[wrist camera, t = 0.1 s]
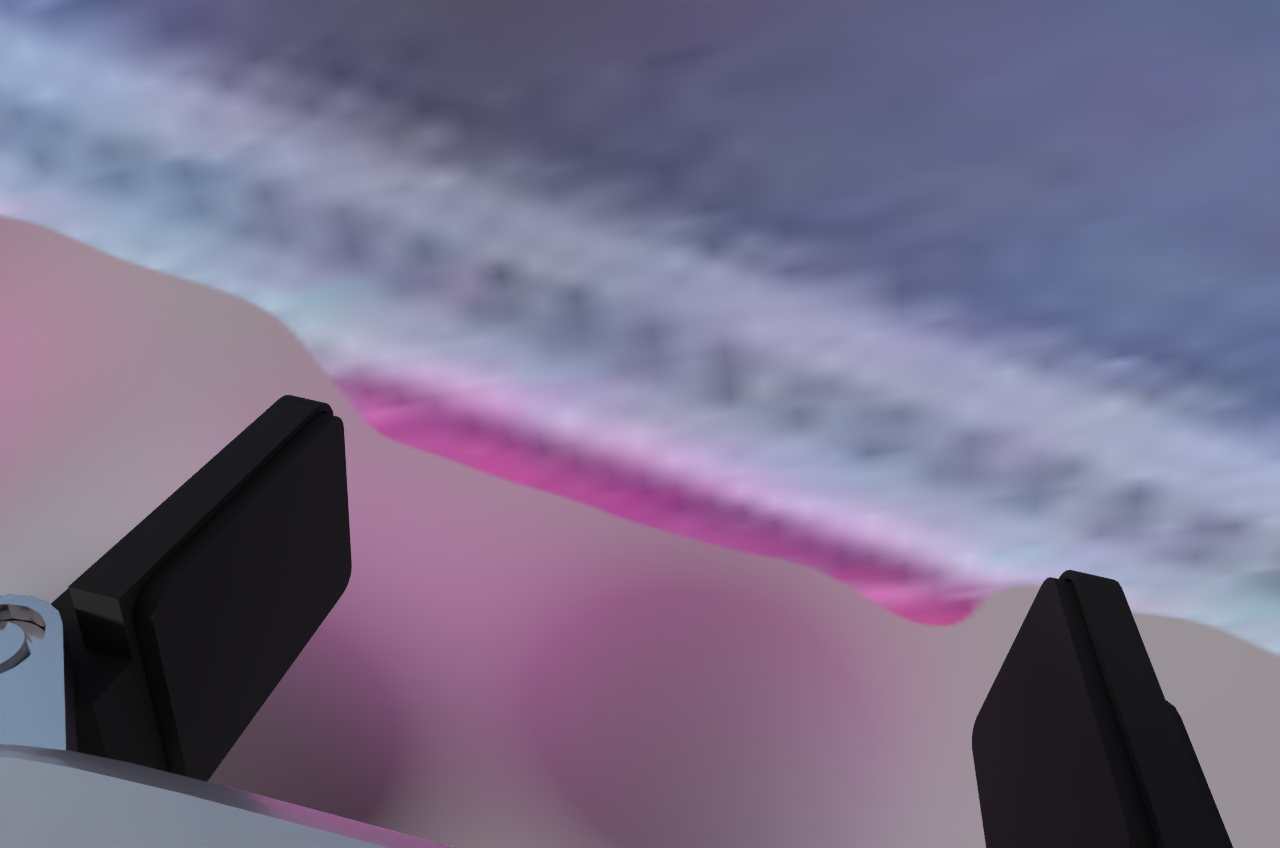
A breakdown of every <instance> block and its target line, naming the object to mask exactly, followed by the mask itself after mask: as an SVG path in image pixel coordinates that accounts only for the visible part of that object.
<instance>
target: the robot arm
mask: <svg viewBox="0 0 1280 848" xmlns="http://www.w3.org/2000/svg"><path fill="white" fill-rule="evenodd" d="M350 575H351V546H350V529H349V512H348V494H347V478H346V459H345V442H344V427H343V422H342V420H341V418H339V417H337V416H333V411H332V409H331V407H330V405H328V404H327V403H322V402H318V401H314V400H309V399H305V398H300V397H296V396H291V395H285V396H283V397H281V398H280V399H279V400H277V401H276V402H275V403H274V404H273V405H272V406H271V407H270V408H268V409H267V410H266V411H265V412H264V413H263V414H262V415H261V416H260V417H258V418H257V419H256V420H255V421H254V422H253V423H252V424H251V425H249V426H248V427H247V428H246V429H245V430H244V431H243V432H241V433H240V434H239V435H238V436H237V437H236V438H235V439H234V440H233V441H231V442H230V443H229V444H228V445H227V446H226V447H225V448H224V449H223V450H221V451H220V452H219V453H218V454H217V455H216V456H215V457H213V458H212V459H211V460H210V461H209V462H208V463H207V464H206V465H205V466H203V467H202V468H201V469H200V470H199V471H198V472H197V473H195V474H194V475H193V476H192V477H191V478H190V479H189V480H188V481H186V482H185V483H184V484H183V485H182V486H181V487H180V488H179V489H178V490H176V491H175V492H174V493H173V494H172V495H171V496H170V497H168V498H167V499H166V500H165V501H164V502H163V503H162V504H161V505H160V506H159V507H157V508H156V509H155V510H154V511H153V512H152V513H151V514H150V515H148V516H147V517H146V518H145V519H144V520H143V521H142V522H141V523H140V524H138V525H137V526H136V527H135V528H134V529H133V530H132V531H130V532H129V533H128V534H127V535H126V536H125V537H124V538H122V539H121V540H120V541H119V542H118V543H117V544H116V545H115V546H114V547H112V548H111V549H110V550H109V551H108V552H107V553H106V554H105V555H103V556H102V557H101V558H100V559H99V560H98V561H97V562H95V563H94V564H93V565H92V566H91V567H90V568H89V569H88V570H87V571H85V572H84V573H83V574H82V575H81V576H80V577H79V578H78V579H76V580H75V581H74V582H73V583H72V584H71V585H70V586H69V588H68V589H67V590H66V591H65V592H64V593H63V594H61V595H60V596H59V597H58V598H57V599H56V600H55V601H54V602H53V603H51V604H50V603H49V602H47V601H44V600H42V599H39V598H36V597H33V596H27V595H12V594H8V595H0V848H454V847H451V846H447V845H444V844H440V843H437V842H433V841H429V840H425V839H422V838H417V837H414V836H410V835H407V834H403V833H399V832H395V831H392V830H388V829H384V828H380V827H377V826H373V825H369V824H365V823H362V822H358V821H354V820H350V819H347V818H343V817H339V816H336V815H332V814H328V813H325V812H321V811H317V810H313V809H310V808H306V807H302V806H298V805H295V804H291V803H287V802H283V801H279V800H276V799H272V798H268V797H264V796H261V795H257V794H253V793H250V792H246V791H242V790H237V789H234V788H230V787H225V786H221V785H218V784H214V783H210V782H207V781H208V780H209V778H210V777H211V776H212V774H213V773H214V771H215V770H216V769H217V767H218V766H219V765H220V763H221V762H222V760H223V759H224V758H225V756H226V755H227V753H228V752H229V750H230V749H231V748H232V747H233V745H234V744H235V742H236V741H237V740H238V738H239V737H240V735H241V734H242V733H243V731H244V730H245V729H246V727H247V726H248V724H249V723H250V722H251V720H252V719H253V717H254V716H255V715H256V713H257V712H258V711H259V709H260V708H261V706H262V705H263V703H264V702H265V701H266V699H267V698H268V697H269V695H270V694H271V692H272V691H273V690H274V688H275V687H276V686H277V684H278V683H279V681H280V680H281V679H282V677H283V676H284V674H285V673H286V672H287V670H288V669H289V667H290V666H291V665H292V663H293V662H294V661H295V659H296V658H297V656H298V655H299V654H300V652H301V651H302V649H303V648H304V647H305V645H306V644H307V643H308V641H309V640H310V638H311V637H312V636H313V634H314V633H315V632H316V630H317V629H318V627H319V626H320V625H321V623H322V622H323V620H324V619H325V618H326V616H327V615H328V613H329V612H330V611H331V609H332V608H333V607H334V605H335V604H336V602H337V601H338V599H339V598H340V597H341V595H342V594H343V592H344V591H345V589H346V587H347V585H348V582H349V578H350ZM972 750H973V757H974V764H975V771H976V779H977V785H978V793H979V800H980V807H981V814H982V820H983V828H984V835H985V842H986V848H1233V846H1232V844H1231V841H1230V839H1229V836H1228V834H1227V831H1226V829H1225V826H1224V824H1223V821H1222V819H1221V816H1220V814H1219V811H1218V809H1217V806H1216V804H1215V802H1214V799H1213V796H1212V794H1211V791H1210V789H1209V787H1208V784H1207V781H1206V779H1205V776H1204V774H1203V771H1202V769H1201V766H1200V764H1199V761H1198V759H1197V756H1196V754H1195V751H1194V749H1193V746H1192V744H1191V741H1190V739H1189V736H1188V734H1187V731H1186V729H1185V726H1184V724H1183V721H1182V719H1181V717H1180V715H1179V713H1178V712H1177V710H1176V708H1175V707H1174V706H1173V705H1171V704H1170V703H1169V702H1168V701H1166V700H1165V698H1164V695H1163V693H1162V690H1161V687H1160V685H1159V682H1158V680H1157V677H1156V675H1155V672H1154V669H1153V667H1152V664H1151V662H1150V659H1149V657H1148V654H1147V651H1146V649H1145V646H1144V644H1143V641H1142V639H1141V636H1140V634H1139V631H1138V628H1137V626H1136V623H1135V621H1134V618H1133V616H1132V613H1131V610H1130V608H1129V605H1128V603H1127V600H1126V597H1125V595H1124V592H1123V590H1122V588H1121V586H1120V584H1119V582H1117V581H1115V580H1113V579H1108V578H1104V577H1099V576H1095V575H1090V574H1086V573H1082V572H1077V571H1073V570H1067V571H1065V572H1064V573H1063V574H1062V575H1061V576H1060V578H1059V579H1056V578H1051V577H1050V578H1047V579H1046V580H1045V581H1044V582H1043V584H1042V586H1041V587H1040V590H1039V592H1038V594H1037V596H1036V598H1035V600H1034V602H1033V604H1032V606H1031V608H1030V610H1029V612H1028V614H1027V616H1026V618H1025V620H1024V622H1023V624H1022V626H1021V628H1020V630H1019V632H1018V634H1017V636H1016V638H1015V641H1014V643H1013V645H1012V647H1011V649H1010V651H1009V653H1008V655H1007V657H1006V659H1005V661H1004V663H1003V665H1002V667H1001V669H1000V671H999V673H998V675H997V677H996V679H995V681H994V683H993V685H992V687H991V689H990V691H989V693H988V695H987V698H986V700H985V702H984V704H983V706H982V708H981V710H980V712H979V714H978V716H977V718H976V721H975V724H974V728H973V734H972Z"/></svg>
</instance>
